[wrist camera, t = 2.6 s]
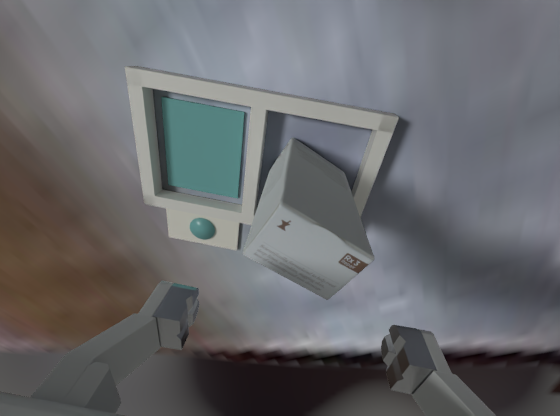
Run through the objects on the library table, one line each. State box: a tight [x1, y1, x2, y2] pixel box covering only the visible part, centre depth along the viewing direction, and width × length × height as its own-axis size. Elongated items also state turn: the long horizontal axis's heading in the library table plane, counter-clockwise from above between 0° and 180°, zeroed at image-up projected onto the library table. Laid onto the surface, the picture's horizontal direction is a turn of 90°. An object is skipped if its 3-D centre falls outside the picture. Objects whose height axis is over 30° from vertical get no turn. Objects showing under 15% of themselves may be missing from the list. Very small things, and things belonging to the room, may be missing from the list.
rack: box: [125, 66, 399, 250], centre depth 24 cm, size 21×17×2 cm
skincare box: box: [243, 138, 374, 300], centre depth 19 cm, size 6×4×12 cm
